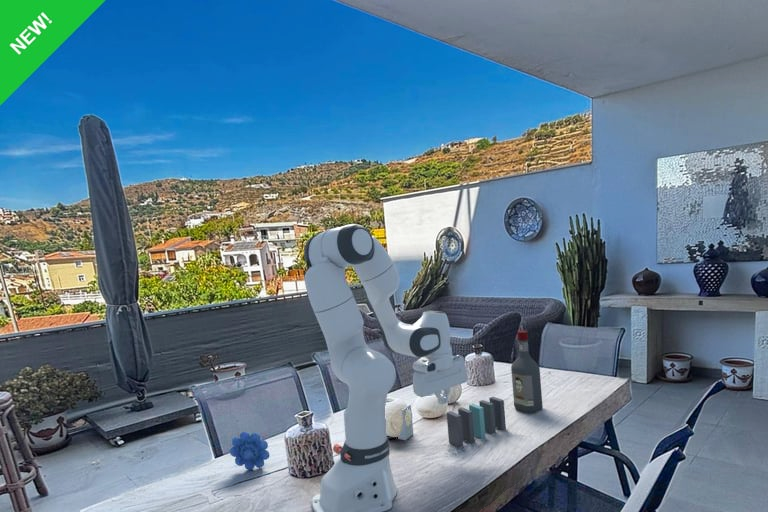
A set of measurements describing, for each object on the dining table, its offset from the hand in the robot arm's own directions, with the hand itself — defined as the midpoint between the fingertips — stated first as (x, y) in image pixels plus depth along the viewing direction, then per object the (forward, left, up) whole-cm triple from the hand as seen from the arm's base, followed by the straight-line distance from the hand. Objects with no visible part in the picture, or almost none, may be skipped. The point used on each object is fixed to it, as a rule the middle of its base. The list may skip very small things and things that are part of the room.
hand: (443, 402), depth 131 cm
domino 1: (+4, 0, -15) cm, 15 cm away
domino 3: (+14, 0, -15) cm, 20 cm away
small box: (-6, +18, -15) cm, 24 cm away
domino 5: (+24, 0, -15) cm, 28 cm away
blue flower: (-55, +28, -15) cm, 64 cm away
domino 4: (+19, 0, -15) cm, 24 cm away
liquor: (+45, +4, -15) cm, 47 cm away
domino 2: (+9, 0, -15) cm, 17 cm away
